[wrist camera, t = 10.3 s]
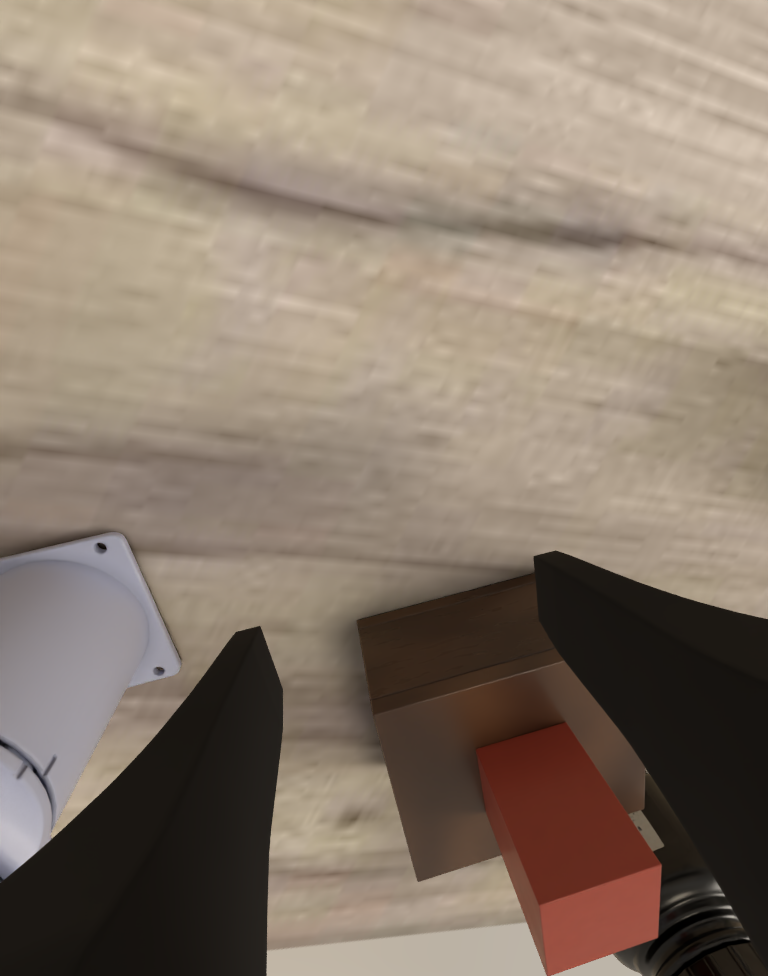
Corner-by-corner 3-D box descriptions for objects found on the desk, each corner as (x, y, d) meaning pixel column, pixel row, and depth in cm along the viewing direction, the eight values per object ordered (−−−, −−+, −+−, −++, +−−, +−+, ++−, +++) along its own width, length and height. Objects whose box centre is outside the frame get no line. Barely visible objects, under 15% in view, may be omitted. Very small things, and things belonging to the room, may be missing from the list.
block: (485, 812, 20) (547, 977, 15) (475, 748, 19) (539, 906, 14) (570, 786, 21) (658, 938, 15) (566, 721, 19) (662, 864, 14)
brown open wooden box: (394, 764, 27) (417, 882, 21) (356, 619, 23) (372, 715, 17) (574, 710, 28) (645, 809, 22) (567, 564, 24) (649, 636, 18)
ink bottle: (579, 760, 30) (743, 1016, 18) (685, 762, 32) (892, 995, 20) (535, 859, 32) (654, 1134, 21) (635, 855, 34) (793, 1106, 23)
